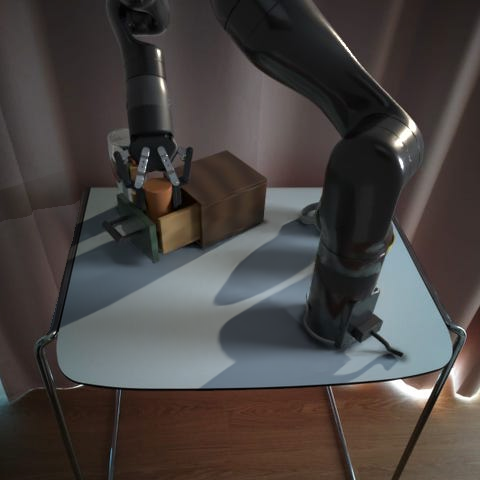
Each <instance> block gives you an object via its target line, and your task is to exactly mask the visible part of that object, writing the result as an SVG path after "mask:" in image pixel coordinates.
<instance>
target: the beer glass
mask: <svg viewBox="0 0 480 480" xmlns="http://www.w3.org/2000/svg"><path fill="white" fill-rule="evenodd" d="M106 139H107V150H108V158H109V164H110V168H111V171H112V174H113V177H114V179H115V183H116V185H117V188H118V192H119V194H120V193H123V194H124V195H125V196H126V197H127V198H128V199H129V200H130V201H131V202H132V195H131V193H133V192H136V191H135V190H133V189H130V188H129V189H127V188H126V187H125V185H124V183H123V180H122V177H121V175H120V172H119V169H118V167H117V164H116V161H115V159H114V156H113V153H114V152H115V151H118V152H122V151H125V150H128V147H129V145H130V135H129V127H122V128H117V129H114V130H113V131H111V132H109V133H108V135H107V137H106ZM125 167H126V170H127V173H128V175H129V178H130V180H133V181H135V180H136V176H137V171H138V167H139V166H138V165H137V163H136V162H135V161H134V160H133V159H132V158H131V157H130V156H129V157H128V163H127V164H126V165H125ZM147 180H149V172H148V173H146V177H145V180H144V183H145V181H147ZM143 189H144V188H143ZM132 203H133V202H132Z"/></svg>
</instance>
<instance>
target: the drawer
mask: <svg viewBox="0 0 480 480" xmlns="http://www.w3.org/2000/svg"><path fill="white" fill-rule="evenodd" d="M180 194H181V206H180V207H178V210H174V212H173V213H171V214H168V215H166V216H163V217H161V218H158V224H159V232H158V231H156V226H155V224H154V223H153V222H152V221H151V220H150V219H149V218H148V217H147V213H143V212H142V210H140V209H139V208H138V206H137V199H136V192H133V193H131V195H132V202H133V203H132V202H131V201H130V200H129V199H128V198H127V197H126V196H125V195H124V194H123V193H120V192H119V193H117V194H116V200H117V206H118V213H119V217H118V218H114V219H112V220H110V221H109V220H107V219H106V220H105V219H104V220H103V221H101V227H102V228H103V229H104V230H105V231H106V232H107V233H108V235H110V237H111V238H112V239H113V240H114V241H115V242H116V243H117V244H118V245H119V246H123V245H124V244H125V243H126V241H128V240H131V241H132V242H133V243H134V244H135V245H136V246H137V248H139V250H140V251H141V252H142V253H143V254H144V255H145V256H146V257H147V258H148V259H149V260H150V261H151V262H152V263H153V264H156V263H158V262H159V261H160V254H159V252H161V253H162V254H163V255H165V254H168V253H170V252H173V251H175V250H177V249H180V248H182V247H185V246H187V245H189V244H192V243H194V242H195V241H196V240H199V239H200V217H199V206H198V205H197V204H196V203H195V202H194V201H193V200H191V199H190V198H189V197H188V196H187V195H185V194H184V193H183V192H182V191H181V190H180ZM173 209H174V208H173ZM120 223H121V230H122V232H123V233H124V234H125V235H122V234H121V233H120V232H119V231H118V230H117V228H115V225H118V224H120Z"/></svg>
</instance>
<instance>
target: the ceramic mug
mask: <svg viewBox="0 0 480 480" xmlns="http://www.w3.org/2000/svg"><path fill="white" fill-rule="evenodd" d="M321 198H322V195H320V198H319V201H317V202H313V203H310V204H308V205H306V206H304V207H303V208H302V209H301V210H300V212H299V218H300V221H301V223H303V224H305V225H314V227H316V229H317V231H319V232H320V233H321V229H322V226H321V222H320V205H321ZM311 212H313V215H312V216H307V215H308V214H309V213H311Z"/></svg>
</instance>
